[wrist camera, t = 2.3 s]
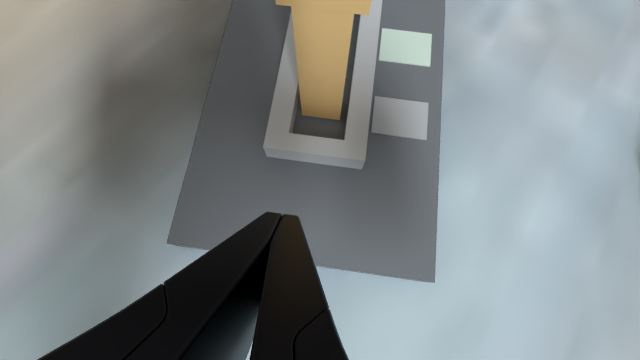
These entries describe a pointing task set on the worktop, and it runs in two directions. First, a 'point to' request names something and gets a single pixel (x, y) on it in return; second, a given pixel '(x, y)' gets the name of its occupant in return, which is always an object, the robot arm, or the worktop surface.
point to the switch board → (324, 141)
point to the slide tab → (323, 51)
